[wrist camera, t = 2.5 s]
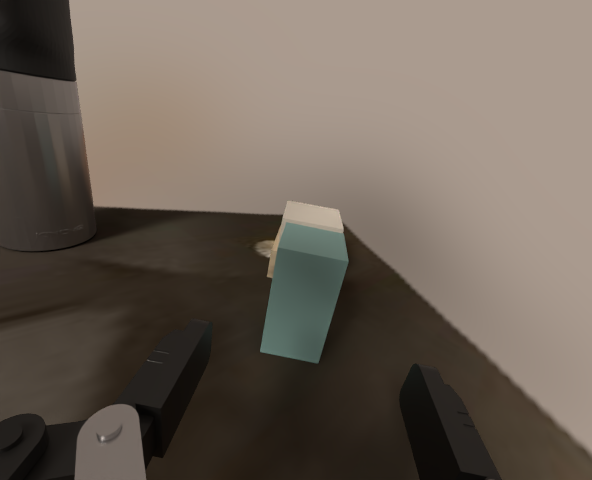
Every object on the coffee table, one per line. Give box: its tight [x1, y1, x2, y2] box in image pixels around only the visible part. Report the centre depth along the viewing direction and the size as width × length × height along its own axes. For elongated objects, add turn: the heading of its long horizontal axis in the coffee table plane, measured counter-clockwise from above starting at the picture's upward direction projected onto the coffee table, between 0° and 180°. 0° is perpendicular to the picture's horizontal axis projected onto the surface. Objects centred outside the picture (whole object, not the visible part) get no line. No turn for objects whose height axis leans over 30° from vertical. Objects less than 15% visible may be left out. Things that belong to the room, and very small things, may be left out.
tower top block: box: [278, 201, 344, 245], centre depth 35 cm, size 7×7×4 cm
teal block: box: [260, 222, 349, 364], centre depth 23 cm, size 5×5×10 cm
